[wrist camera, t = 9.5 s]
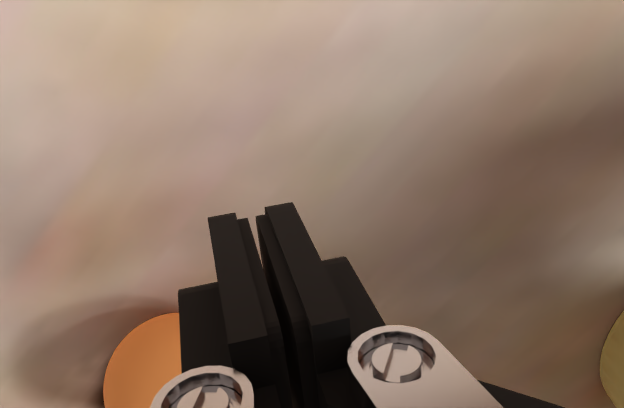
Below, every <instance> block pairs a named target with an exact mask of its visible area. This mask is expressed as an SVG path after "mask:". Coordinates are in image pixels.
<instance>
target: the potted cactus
mask: <svg viewBox="0 0 624 408" xmlns="http://www.w3.org/2000/svg"><path fill="white" fill-rule="evenodd" d="M600 378H601V381H602V385H603V387H604V389H605V391H606V393H607V395H608V396H609V397H610V399H611V401H612V402H613V404H614V405H615V407H616V408H624V311H623V312H622V313H621V315H620V316H619V317H618V319H617V320H616V322H615V324H614V325H613V327H612V328H611V330H610V332H609V334H608V336H607V339H606V341H605V344H604V346H603V349H602V354H601V358H600Z"/></svg>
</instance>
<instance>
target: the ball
mask: <svg viewBox="0 0 624 408" xmlns="http://www.w3.org/2000/svg"><path fill="white" fill-rule="evenodd" d="M180 374H182V371H181V348H180V325H179V313H169V314H164V315H160V316H157V317H154V318H152V319H150V320H148V321H146V322H144V323H142V324H140V325H139V326H137V327H136V328H135V329H133V330H132V331H131V332H130V333H129V334H128V335H127V336H126V337H125V338H124V339H123V340H122V341H121V342H120V344H119V345H118V347H117V348H116V349H115V351H114V353H113V355H112V357H111V359H110V361H109V363H108V366H107V369H106V373H105V378H104V384H103V397H104V405H105V408H150V406H151V404H152V401H153V399H154V397H155V395H156V394H157V393H158V392H159V390H160V389H161V388H162V387H163V386H164V385H165V384H166V383H168V382H169V381H170V380H172V379H173V378H175V377H176V376H178V375H180Z"/></svg>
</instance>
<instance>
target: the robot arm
mask: <svg viewBox="0 0 624 408" xmlns="http://www.w3.org/2000/svg"><path fill="white" fill-rule="evenodd" d="M208 223H209V229H210V236H211V242H212V248H213V254H214V260H215V267H216V273H217V279H218V282H215V283H210V284H205V285H200V286H195V287H190V288H185V289H180V290H178V302H179V325H180V348H181V371H182V374H180V375H178V376H176V377H175V378H173V379H172V380H170V381H169V382H168V383H166V384H165V385H164V386H163V387H162V388H161V389H160V390H159V392H158V393H157V394H156V395H155V397H154V399H153V401H152V404H151V406H150V408H564V407H561V406H558V405H555V404H552V403H548V402H545V401H542V400H539V399H536V398H533V397H529V396H526V395H523V394H520V393H517V392H514V391H510V390H507V389H504V388H501V387H498V386H495V385H491V384H488V383H485V382H482V381H479V380H476V379H475V378H474V377H473V376H472V375H471V373H470V372H469V371H468V370H467V369H466V368H465V367H464V366H463V365H462V364H461V363H460V362H459V361H458V360H457V359H456V358H455V357H454V356H453V355H452V354H451V353H450V352H449V351H448V350H447V349H446V348H445V347H444V346H443V345H442V344H441V343H440V341H439V340H437V339H436V338H435V337H433V336H432V335H431V334H429V333H428V332H425V331H423V330H420V329H418V328H415V327H410V326H404V325H385V323H384V322H383V320H382V318H381V316H380V315H379V313H378V311H377V309H376V308H375V306H374V304H373V303H372V301H371V299H370V297H369V296H368V294H367V292H366V290H365V289H364V287H363V285H362V283H361V282H360V280H359V278H358V277H357V275H356V273H355V271H354V270H353V268H352V266H351V264H350V263H349V261H348V260H347V258H346V257H339V258H334V259H329V260H324V261H321V259H320V257H319V255H318V253H317V251H316V249H315V247H314V245H313V243H312V241H311V239H310V237H309V235H308V233H307V230H306V228H305V226H304V224H303V222H302V220H301V218H300V216H299V214H298V212H297V210H296V208H295V206H294V204H293V203H292V202H291V203H285V204H280V205H274V206H269V207H265V215H260V216H256V224H257V231H258V238H259V244H260V251H261V258H262V264H263V267H262V264H261V261H260V258H259V254H258V251H257V248H256V244H255V241H254V238H253V235H252V231H251V228H250V225H249V221H248V218H243V219H238V220H237V217H236V214H235V213H230V214H225V215H219V216H214V217H208Z"/></svg>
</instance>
